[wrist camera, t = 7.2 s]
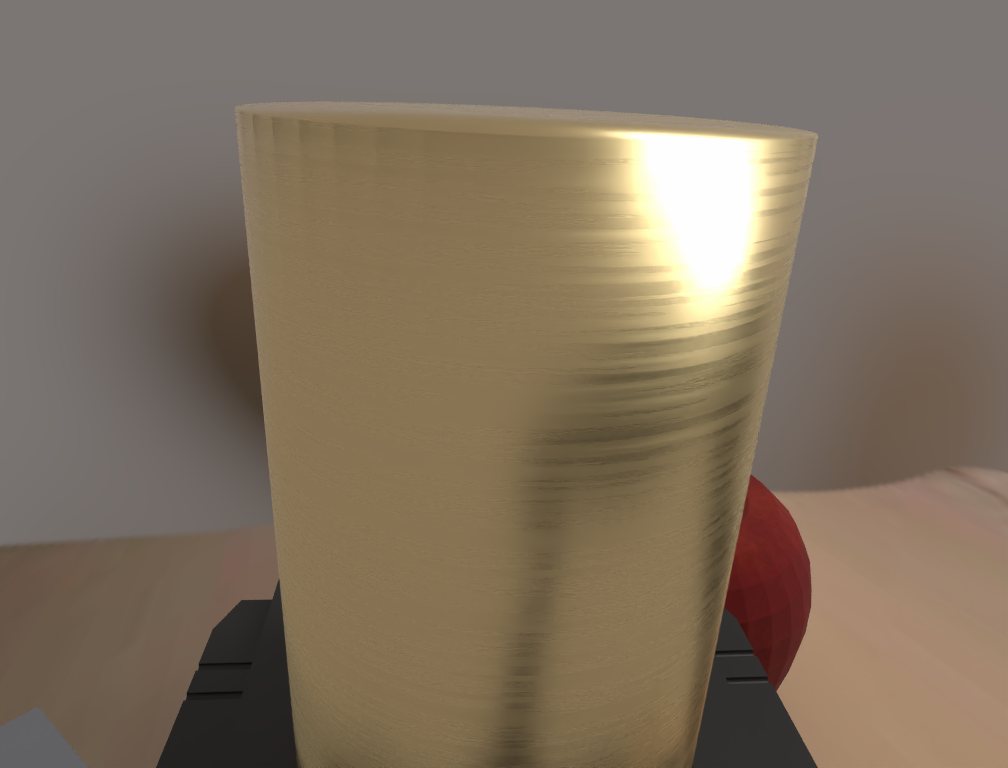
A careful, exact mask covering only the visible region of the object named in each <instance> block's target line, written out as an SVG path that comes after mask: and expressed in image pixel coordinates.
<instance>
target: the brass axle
mask: <svg viewBox="0 0 1008 768" xmlns="http://www.w3.org/2000/svg"><path fill="white" fill-rule="evenodd" d="M235 116H236V127H237V137H238V147H239V158H240V169H241V179H242V190H243V201H244V211H245V222H246V232H247V243H248V253H249V263H250V274H251V285H252V295H253V305H254V316H255V326H256V337H257V348H258V358H259V369H260V379H261V390H262V401H263V411H264V422H265V432H266V442H267V453H268V464H269V473H270V484H271V496H272V506H273V516H274V527H275V538H276V548H277V559H278V569H279V580H280V590H281V601H282V611H283V622H284V632H285V643H286V654H287V664H288V675H289V685H290V696H291V706H292V717H293V727H294V738H295V748H296V759H297V768H692V764H693V759H694V754H695V749H696V744H697V739H698V734H699V729H700V724H701V719H702V714H703V709H704V704H705V699H706V694H707V689H708V684H709V679H710V674H711V669H712V664H713V659H714V654H715V649H716V644H717V639H718V634H719V629H720V624H721V619H722V614H723V609H724V604H725V599H726V594H727V589H728V584H729V579H730V574H731V569H732V564H733V559H734V554H735V549H736V544H737V539H738V534H739V529H740V524H741V519H742V514H743V509H744V504H745V499H746V494H747V489H748V484H749V479H750V474H751V469H752V464H753V459H754V454H755V448H756V444H757V439H758V434H759V429H760V424H761V419H762V414H763V409H764V404H765V399H766V394H767V389H768V384H769V379H770V374H771V369H772V364H773V359H774V354H775V349H776V344H777V339H778V334H779V329H780V324H781V319H782V314H783V309H784V304H785V299H786V294H787V289H788V284H789V280H790V274H791V270H792V265H793V259H794V255H795V249H796V244H797V240H798V235H799V230H800V224H801V219H802V215H803V210H804V205H805V200H806V195H807V190H808V184H809V180H810V174H811V170H812V165H813V160H814V154H815V149H816V144H817V140H818V135H817V134H816V133H813V132H810V131H805V130H800V129H795V128H788V127H781V126H773V125H765V124H756V123H747V122H737V121H736V122H735V121H726V120H714V119H703V118H691V117H679V116H665V115H651V114H635V113H619V112H605V111H588V110H570V109H551V108H550V109H549V108H530V107H509V106H484V105H458V104H457V105H456V104H428V103H388V102H276V103H256V104H246V105H240V106H236V107H235Z"/></svg>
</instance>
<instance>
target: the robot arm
mask: <svg viewBox="0 0 1008 768" xmlns="http://www.w3.org/2000/svg"><path fill="white" fill-rule="evenodd" d="M156 768H297V759H296V748H295V738H294V727H293V717H292V706H291V696H290V685H289V675H288V664H287V654H286V643H285V632H284V622H283V611H282V601H281V590H280V580H279V581H278V584H277V587H276V590H275V593H274V596H273V599H272V600H241V601H240V602H239V603H238V604H237V605H236V606H235V607H234V608H233V609H232V610H231V611H230V612H229V613H228V614H227V616H226V617H225V618H224V619H223V620H222V621H221V622H220V623H219V624H218V625H217V626H216V627H215V628H214V629H213V630H212V633H211V635H210V638H209V640H208V642H207V645H206V647H205V650H204V652H203V655H202V657H201V660H200V662H199V669H198V671H196V672H195V674H194V677H193V679H192V681H191V684H190V686H189V689H188V691H187V698H186V701H183V703H182V706H181V708H180V711H179V713H178V716H177V718H176V720H175V723H174V725H173V728H172V730H171V733H170V735H169V738H168V740H167V742H166V745H165V747H164V750H163V752H162V755H161V757H160V759H159V762H158V764H157V767H156ZM692 768H818V767H817V766H816V764H815V762H814V760H813V758H812V756H811V755H810V753H809V751H808V749H807V747H806V745H805V744H804V742H803V740H802V738H801V736H800V734H799V733H798V731H797V729H796V727H795V725H794V723H793V722H792V720H791V718H790V716H789V714H788V712H787V711H786V709H785V707H784V705H783V703H782V701H781V700H780V698H779V696H778V694H777V692H776V690H775V688H774V687H773V685H772V683H769V682H768V676H767V674H766V672H765V670H764V668H763V666H762V665H761V663H760V661H759V659H758V657H757V656H754V654H753V648H752V646H751V644H750V643H749V641H748V639H747V637H746V635H745V633H744V632H743V630H742V628H741V626H740V624H739V622H738V621H737V619H736V618H735V617H734V616H733V615H732V614H731V613H730V612H729V611H727V610H726V609H725V608H724V609H723V614H722V619H721V624H720V629H719V634H718V639H717V644H716V649H715V654H714V659H713V664H712V669H711V674H710V679H709V684H708V689H707V694H706V699H705V704H704V709H703V714H702V719H701V724H700V729H699V734H698V739H697V744H696V749H695V754H694V759H693V764H692Z"/></svg>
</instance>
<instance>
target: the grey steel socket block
mask: <svg viewBox="0 0 1008 768" xmlns="http://www.w3.org/2000/svg"><path fill="white" fill-rule="evenodd" d="M0 768H88V767H87V765H86V764H85V763H84V762H83V761H82V759H81V758H80V757H79V756H78V754H77V753H76V752H75V751H74V749H73V748H72V747H71V746H70V745H69V743H68V742H67V741H66V740H65V738H64V737H63V736H62V735H61V734H60V732H59V731H58V730H57V729H56V727H55V726H54V725H53V724H52V722H51V721H50V720H49V719H48V718H47V716H46V715H45V714H44V713H43V711H42V710H41V709H40V708H39V707H38V706H37V707H35V708H33V709H32V710H30V711H28V712H26V713H24V714H22V715H21V716H19V717H17V718H15V719H13V720H11V721H10V722H8V723H6V724H4V725H2V726H0Z"/></svg>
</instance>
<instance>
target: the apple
mask: <svg viewBox="0 0 1008 768" xmlns="http://www.w3.org/2000/svg"><path fill="white" fill-rule="evenodd" d="M724 608H725V609H726V610H727V611H729V612H730V613H731V614H732V615H733V616H734V617H735V618H736V619H737V621H738V622H739V624H740V626H741V628H742V630H743V632H744V633H745V635H746V637H747V639H748V641H749V643H750V644H751V646H752V648H753V654H754V656H757V657H758V659H759V661H760V663H761V665H762V666H763V668H764V670H765V672H766V674H767V676H768V682H769V683H772V685H773V687H774V688H775V690H776V691H777V689H778V688H779V686H780V684H781V683H782V681H783V680H784V678H785V676H786V675H787V673H788V671H789V669H790V667H791V665H792V662H793V660H794V658H795V656H796V653H797V651H798V649H799V646H800V644H801V642H802V639H803V637H804V634H805V632H806V627H807V622H808V618H809V613H810V608H811V573H810V561H809V558H808V554H807V551H806V548H805V545H804V543H803V540H802V538H801V535H800V533H799V530H798V528H797V525H796V523H795V521H794V520H793V518H792V516H791V515H790V513H789V511H788V510H787V509H786V508H785V506H784V505H783V504H782V503H781V502H780V501H779V500H778V499H777V498H776V497H775V496H774V495H773V494H772V493H771V492H770V491H769V490H768V489H767V488H766V487H765V486H764V485H763V484H762V483H761V482H760V481H758V480H757V479H756V478H755V477H753V476H752V475H751V474H750V479H749V484H748V489H747V494H746V499H745V504H744V509H743V514H742V519H741V524H740V529H739V534H738V539H737V544H736V549H735V554H734V559H733V564H732V569H731V574H730V579H729V584H728V589H727V594H726V599H725V604H724Z"/></svg>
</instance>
